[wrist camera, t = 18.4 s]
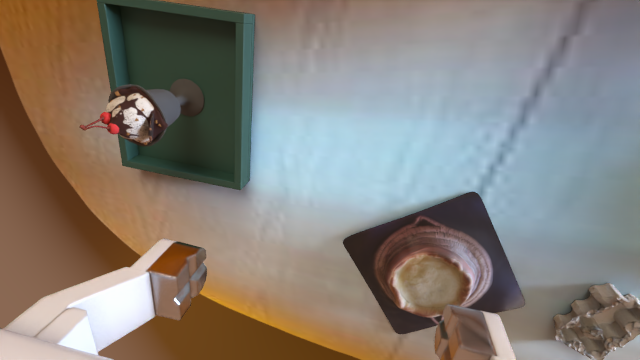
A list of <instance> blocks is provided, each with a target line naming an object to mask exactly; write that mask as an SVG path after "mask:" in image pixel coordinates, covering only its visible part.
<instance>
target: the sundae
mask: <svg viewBox="0 0 640 360" xmlns="http://www.w3.org/2000/svg"><path fill="white" fill-rule="evenodd" d="M203 107H204V96H203V93H202V91H201V89H200V88H199V87H198V85H196V84H195V83H194V82H193V81H191V80H188V79H178V80H176V81H175V82H174V83H173V84H172V86H171V88H170V91H167V90H164V89H150V90H145V89H144V88H142V87H140V86H138V85H131V84H129V85H123V86H119V87H117V88H116V89H114V90H113V91H112V92H111V94H110V96H109V104H108V106H107V109H106V112H103V113H102V114H101V116H100V119H98V120H97V121H95V122H93V123H91V124H89V125H87V126H84V125H80V128H81V129H83V130H87V129H89V128H92V127H101V128H106V129H107V130H108V132H110V133H111V134H118V135H120V136H121V137H123V138H124V139H126V140H128V141H129V142H131V143H134V144H137V145H140V146H152V145H154V144H156V143H157V142H158V141H159V140H160V139H161V138H162V137H163V135H164V133H165V132H166V129H167V127H168V126H170V125H171V124H172V123H173V122H174V121H175V120H176V119H177V118H178V117H179V115H180V113H181V114H183V115H186V116H195V115H197V114H199V113H200V112H201V111H202V109H203ZM99 121H102V123H104V124H107V125H108V126H107V127H103V126H91V127H88V126H90V125H92V124H95V123H97V122H99ZM87 127H88V128H87Z"/></svg>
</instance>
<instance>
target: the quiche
mask: <svg viewBox="0 0 640 360" xmlns="http://www.w3.org/2000/svg"><path fill="white" fill-rule="evenodd" d="M343 244H344V246H345V248H346V250H347V251H348V253H349V254H350V256H351V258H352V259H353V261H354V263H355V264H356V266H357V268H358V269H359V271H360V273H361V274H362V276H363V278H364V279H365V281H366V283H367V284H368V286H369V288H370V289H371V291H372V293H373V295H374V296H375V298H376V300H377V301H378V303H379V305H380V306H381V308H382V310H383V312H384V313H385V315H386V317H387V318H388V320H389V322H390V324H391V325H392V327H393V329H394V330H395V332H396V333H398V334H406V333H410V332H414V331H418V330H421V329H425V328H429V327H432V326H436V325H438V323H439V322H440V321H442V320H443V319H444V317H443V310H444V308H445V306H446V305H447V304H452V305H456V306H461V307H465V308H470V309H474V310H479V311H485V312H489V313H496V312H502V311H507V310H512V309H517V308H521V307H524V306H525V300H524V298H523V295H522V293H521V291H520V288H519V286H518V283H517V281H516V279H515V276H514V274H513V272H512V269H511V267H510V265H509V262H508V260H507V257H506V255H505V253H504V250H503V248H502V246H501V243H500V241H499V239H498V236H497V234H496V232H495V230H494V227H493V225H492V222H491V220H490V218H489V215H488V213H487V211H486V208H485V206H484V204H483V201H482V199H481V197H480V196H479V195H478V194H477V193H476V192H469V193H466V194H464V195H461V196H459V197H456V198H453V199H451V200H448V201H446V202H443V203H441V204H438V205H435V206H433V207H430V208H428V209H425V210H422V211H420V212H417V213H414V214H411V215H408V216H405V217H402V218H400V219H397V220H394V221H391V222H388V223H385V224H382V225H379V226H377V227H374V228H371V229H368V230H365V231H362V232H359V233H356V234H354V235H351V236H349V237H347V238H345V239H344V241H343Z"/></svg>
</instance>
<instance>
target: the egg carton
mask: <svg viewBox="0 0 640 360" xmlns="http://www.w3.org/2000/svg"><path fill="white" fill-rule="evenodd" d="M589 291H590V293H591V295H590V296H589V298H588V299H586V300H575V301H574V302H573V303H572V304H571V307H572V311H571V312H570V313H569V314H566V315H560V314H557V315H556V316H554V318H553V319H554V321H555V329H556V333H557V335H556V337H555V339H556V340H561V341H562V342H564V343H565V344H566V345H567V346H568V347H571V348H573V349H574V350H575V351H578V352H579V353H581V354H582V355H586V356H588V357H589V358H590V359H592V360H603V359H604V358H605V357H606V356H607V355H608V353H609V352H610V351H615V350H616V347H621V348H623V347H624V345H625V344H626V343H627V342H629V341H631V340H633V339H634V338H635V337H636V336H637V335H639V334H640V301H639V300H638V299H637V298H636V297H635V296H633V295H632V294H628V295H626V296H622V295H621V293H620V292H619V291H618V290H617V289H616V288H615V286H613V285H612V284H610V283H606V284H604V285H594V286H592V287H590V288H589Z"/></svg>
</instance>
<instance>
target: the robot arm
mask: <svg viewBox="0 0 640 360" xmlns="http://www.w3.org/2000/svg"><path fill="white" fill-rule="evenodd" d="M205 259H206V250H205V249H204V248H201V247H197V246H193V245H189V244H185V243H181V242H176V241H172V240H168V239H165V238H164V239H161V240H159V241H158V242H157V243H156V244H155V245H154V246H152V247H151V248H150V249H149V250H148V251H147V252H146V253H145V254H144V255H143V256H142V257H141V258H140V259H139V260H138V261H137V262H135V263H134V264H133V265H132V266H131V267H130V268H128V267H124V268H121V269H119V270H116V271H113V272H111V273H108V274H105V275H102V276H100V277H97V278H94V279H91V280H89V281H86V282H83V283H81V284H78V285H75V286H72V287H70V288H67V289H65V290H62V291H59V292H56V293H53V294H51V295H48V296H45V297H43V298H42V299H40V300H39V301H38V302H36V303H35V304H34V305H33V306H31V307H30V308H29V309H27V310H26V311H25V312H24V313H22V314H21V315H20V316H19V317H17V318H16V319H15V320H14V321H12V322H11V323H10V324H9V325H7V326H6V327H5V328H3V329H1V328H0V360H113V359H109V358H106V357H102V356H99V355H98V351H100V350H101V349H103V348H105V347H106V346H108V345H110V344H111V343H113V342H115V341H116V340H118V339H120V338H121V337H123V336H124V335H125V334H128V333H129V332H131V331H133V330H134V329H136V328H137V327H139V326H141V325H142V324H144V323H145V322H147V321H149V320H150V319H152V318H154V317H155V315H157V316H162V317H166V318H171V319H175V320H181V318H182V317H183V316H184V314H185V313H186V311H187V310H188V308H189V307H190V306H191V298H193V297H195V296H197V295H198V294H199V293H200V291H201V290H202V288H203V286H204V283H205V281H206V276H207V267H206V266H205V265H204V263H203V261H204V260H205ZM443 317H444V319H443V320H442V321H440V322H439V323H438V325H437V328H436V332H435V352H436V354H437V356H438V357H439V358H440V360H517V359H516V357H515V354H514V352H513V349H512V346H511V344H510V341H509V339H508V336H507V334H506V331H505V328H504V326H503V323H502V321H501V318H500V316H499V315H498V314H494V313H489V312H485V311H479V310H474V309H470V308H465V307H461V306H456V305H452V304H447V305H446V306H445V308H444V310H443Z"/></svg>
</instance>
